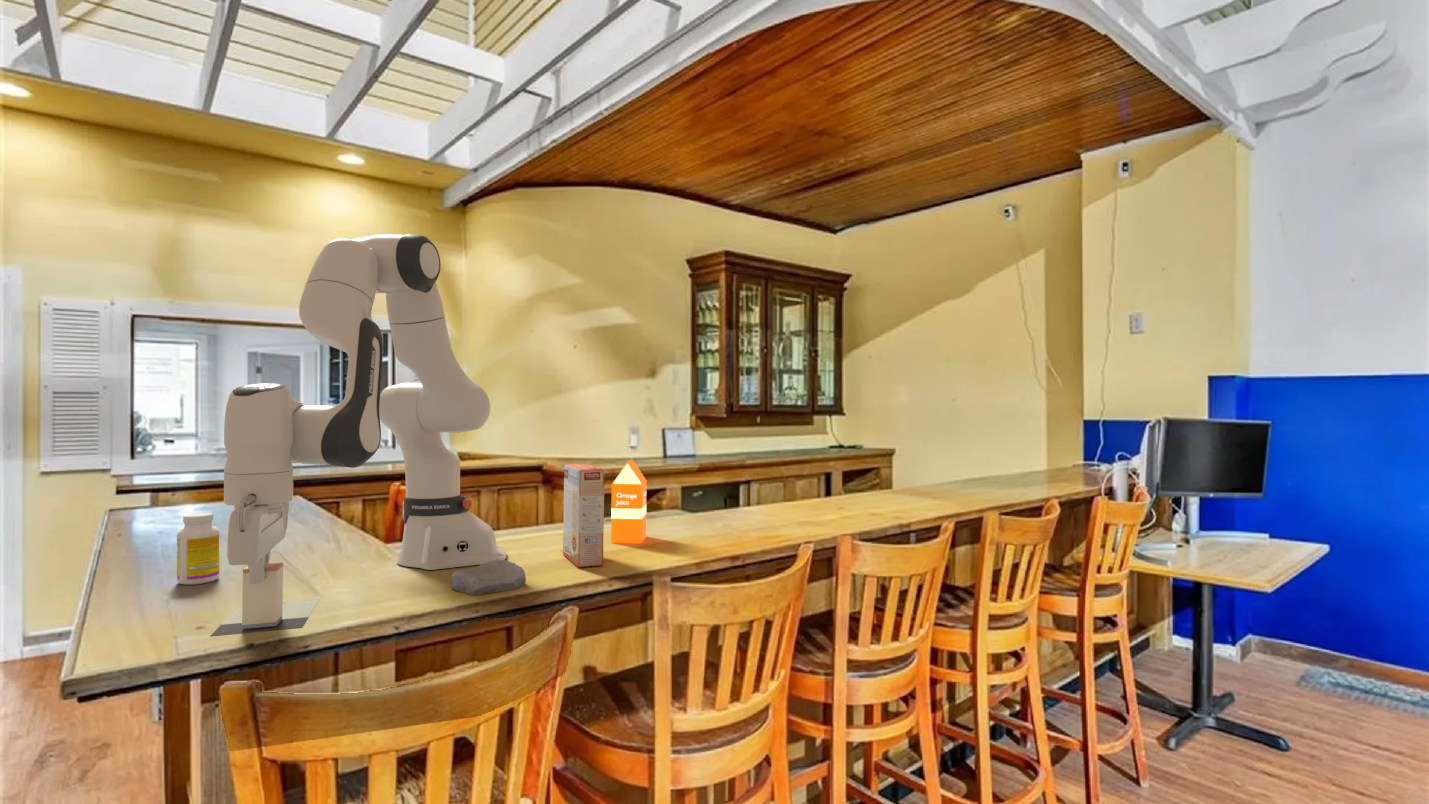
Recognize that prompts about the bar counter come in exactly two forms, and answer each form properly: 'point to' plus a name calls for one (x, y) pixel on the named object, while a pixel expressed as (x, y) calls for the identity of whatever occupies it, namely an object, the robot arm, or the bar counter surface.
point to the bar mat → (291, 619)
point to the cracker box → (583, 514)
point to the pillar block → (263, 598)
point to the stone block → (488, 578)
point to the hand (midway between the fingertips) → (258, 581)
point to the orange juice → (628, 506)
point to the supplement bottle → (197, 550)
